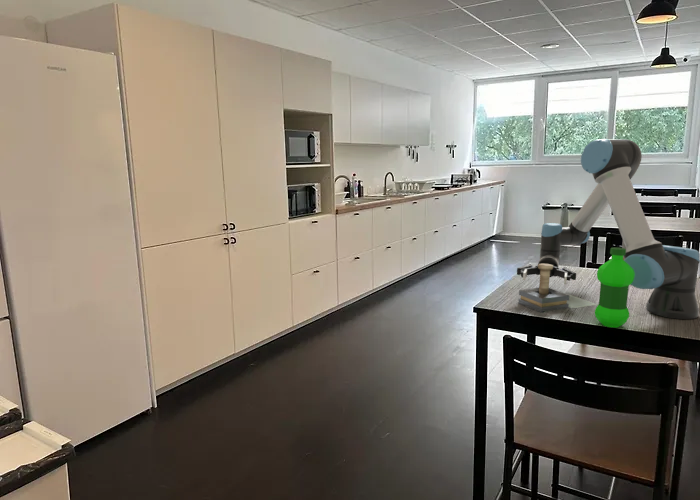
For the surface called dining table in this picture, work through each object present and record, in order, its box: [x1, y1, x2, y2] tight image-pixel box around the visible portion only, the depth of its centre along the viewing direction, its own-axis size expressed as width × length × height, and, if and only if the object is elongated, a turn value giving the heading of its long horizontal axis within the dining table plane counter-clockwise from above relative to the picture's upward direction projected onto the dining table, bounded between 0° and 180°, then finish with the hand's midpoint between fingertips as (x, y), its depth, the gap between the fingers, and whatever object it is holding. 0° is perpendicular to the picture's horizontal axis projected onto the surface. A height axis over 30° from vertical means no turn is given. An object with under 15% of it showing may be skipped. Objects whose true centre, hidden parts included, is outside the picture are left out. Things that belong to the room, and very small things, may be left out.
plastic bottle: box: [594, 246, 635, 329], centre depth 153 cm, size 10×10×25 cm
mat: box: [567, 294, 599, 309], centre depth 180 cm, size 14×12×1 cm
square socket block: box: [517, 287, 570, 313], centre depth 175 cm, size 12×12×5 cm
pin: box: [537, 263, 553, 295], centre depth 175 cm, size 5×5×15 cm
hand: (544, 278), depth 171 cm, fingers open, 13 cm apart
